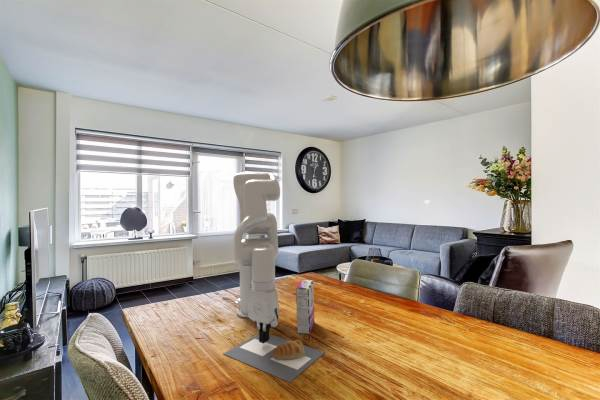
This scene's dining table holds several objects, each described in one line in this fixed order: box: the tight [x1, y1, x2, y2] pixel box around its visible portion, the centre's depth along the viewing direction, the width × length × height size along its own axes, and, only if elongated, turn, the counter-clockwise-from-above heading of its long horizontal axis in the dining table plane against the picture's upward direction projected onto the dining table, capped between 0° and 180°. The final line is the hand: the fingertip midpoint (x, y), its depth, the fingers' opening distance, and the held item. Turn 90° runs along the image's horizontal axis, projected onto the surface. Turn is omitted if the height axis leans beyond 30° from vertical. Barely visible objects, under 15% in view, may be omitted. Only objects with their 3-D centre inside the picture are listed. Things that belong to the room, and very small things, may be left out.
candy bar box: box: [295, 279, 315, 335], centre depth 109 cm, size 11×5×16 cm, turn 168°
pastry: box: [273, 339, 305, 360], centre depth 88 cm, size 9×7×4 cm
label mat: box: [222, 333, 325, 384], centre depth 90 cm, size 26×18×1 cm
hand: (264, 341), depth 95 cm, fingers closed
